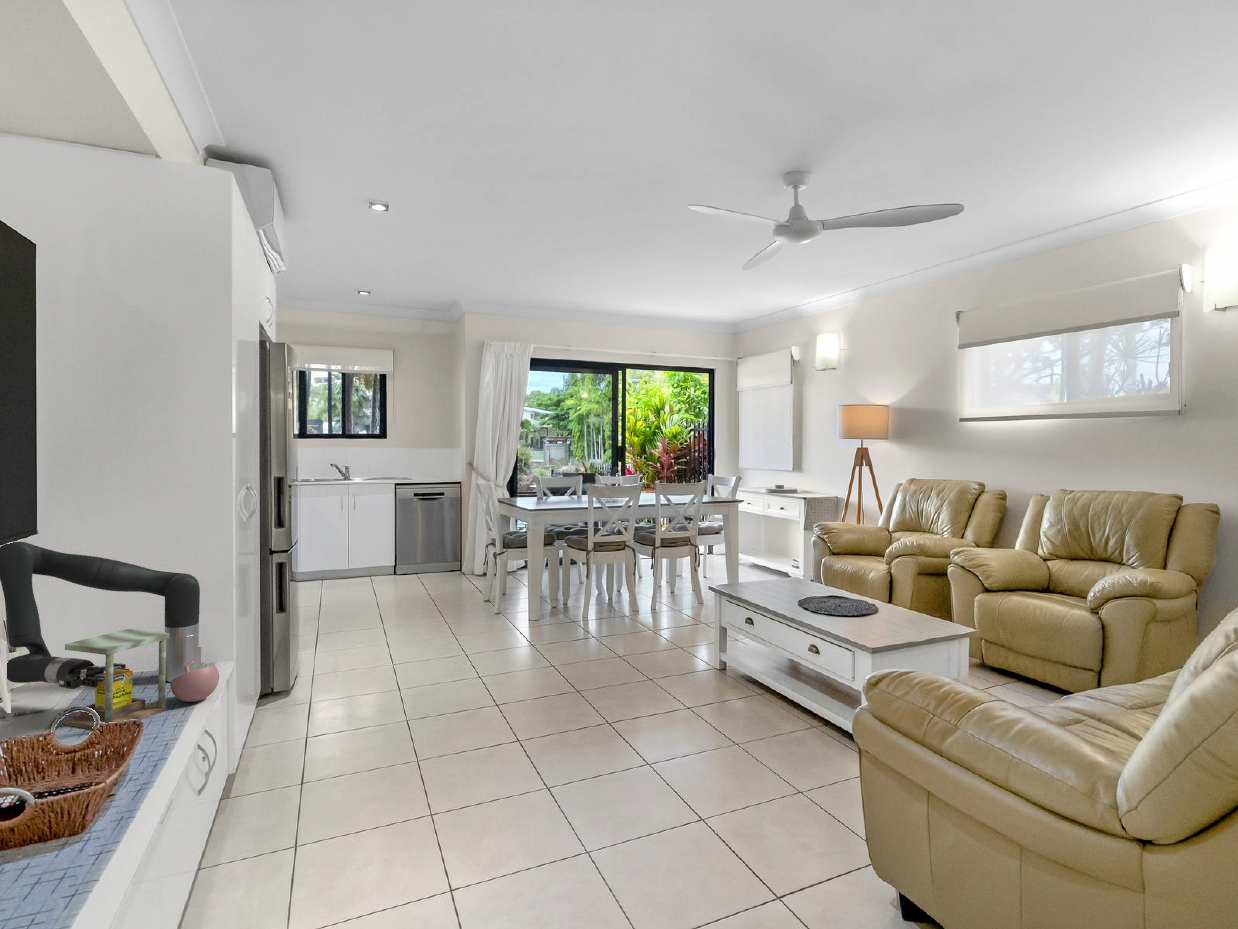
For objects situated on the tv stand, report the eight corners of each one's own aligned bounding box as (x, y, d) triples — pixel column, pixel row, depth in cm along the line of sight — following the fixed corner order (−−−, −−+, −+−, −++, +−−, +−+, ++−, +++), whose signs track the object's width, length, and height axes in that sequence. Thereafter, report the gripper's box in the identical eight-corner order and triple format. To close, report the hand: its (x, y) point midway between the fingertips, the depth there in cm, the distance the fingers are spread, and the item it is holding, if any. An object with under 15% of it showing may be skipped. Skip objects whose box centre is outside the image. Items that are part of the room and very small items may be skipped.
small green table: (125, 702, 188) (126, 628, 188) (168, 709, 184) (169, 633, 184) (60, 725, 172) (62, 643, 172) (105, 733, 167) (106, 649, 167)
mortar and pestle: (202, 691, 199) (203, 653, 199) (227, 697, 193) (228, 659, 193) (160, 704, 188) (161, 664, 188) (186, 711, 183) (187, 670, 183)
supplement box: (111, 717, 175) (112, 677, 175) (94, 715, 176) (94, 675, 176) (132, 709, 180) (133, 670, 180) (115, 707, 182) (116, 668, 182)
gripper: (41, 666, 176) (85, 672, 171) (96, 651, 189) (138, 657, 185) (41, 694, 176) (85, 700, 171) (96, 677, 189) (138, 683, 185)
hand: (112, 678), depth 178 cm, fingers open, 8 cm apart
